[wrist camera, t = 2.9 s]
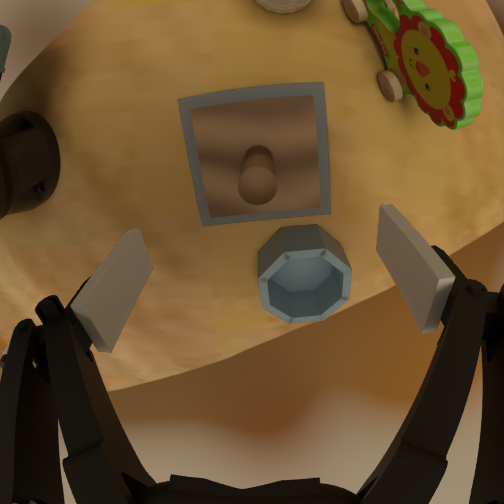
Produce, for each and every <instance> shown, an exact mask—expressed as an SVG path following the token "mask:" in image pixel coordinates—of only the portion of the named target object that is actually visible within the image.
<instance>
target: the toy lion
mask: <svg viewBox="0 0 504 504" xmlns="http://www.w3.org/2000/svg"><path fill="white" fill-rule="evenodd" d="M342 3H343V6H344V9H345V11H346V13H347V15H348V17H349V18H350V19H351V20H352V21H353V22H355V23H360V22H365V21H366V22H367V23H368V25H369V26H370V28H371V29H372V31H373V33H374V34H375V36H376V38H377V40H378V42H379V45H380V47H381V49H382V52H383V55H384V58H385V61H386V65H387V70H385V71H382V72H380V73H378V82H379V85H380V88H381V90H382V92H383V94H384V95H385V97H386V98H387V99H388V100H389V101H391V102H395V101H398V100H401V99H402V97H403V93H408V94H412V95H413V96H414V97H415V99H416V101H417V104H418V106H419V107H420V109H421V110H422V111H423V112H424V113H426V114H428V115H429V116H430V118H431V120H432V121H433V122H434V123H435V124H436V125H438V126H440V127H441V126H446V127H448V128H450V129H453V130H454V129H458V128H461V127H464V126H467V125H470V124H471V123H472V121H473V117H476V116H478V115H479V114H480V111H481V101H480V98H481V96H482V94H483V82H482V78H481V76H480V74H479V71H478V68H479V60H478V56H477V54H476V52H475V50H474V48H473V47H472V46H471V45H470V44H469V43H468V42H467V41H466V40H465V39H464V36H463V34H462V32H461V30H460V29H459V27H458V26H457V25H456V24H455V23H454V22H453V21H451V20H449V19H446V18H445V17H444V16H443V15H442V14H441V13H440V12H439V11H437V10H435V9H429V8H428V7H427V6H426V5H425V4H424V2H423V1H422V0H342ZM394 4H395V5H394ZM395 6H396V8H397V11H398V14H399V18H400V20H399V19H398V18H397V17H396V16H395V15H394V14H395Z"/></svg>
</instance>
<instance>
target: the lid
mask: <svg viewBox="0 0 504 504" xmlns="http://www.w3.org/2000/svg"><path fill="white" fill-rule="evenodd" d="M190 111H191V117H192V123H193V128H194V134H195V140H196V145H197V151H198V156H199V162H200V167H201V172H202V177H203V183H204V188H205V193H206V198H207V203H208V208H209V213H210V218H217V217H226V216H235V215H244V214H254V213H264V212H274V211H285V210H296V209H308V208H320V184H319V164H318V147H317V133H316V121H315V109H314V99H313V96H312V95H311V96H292V97H278V98H267V99H258V100H249V101H241V102H234V103H227V104H220V105H214V106H208V107H202V108H197V109H192V110H190Z"/></svg>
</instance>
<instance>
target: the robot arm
mask: <svg viewBox="0 0 504 504" xmlns="http://www.w3.org/2000/svg"><path fill="white" fill-rule="evenodd" d="M10 43H11V33H10V31H9V29H8V28H7V27H5V26H2V25H0V80H1V76H2V73H4V71H5V68H4V65H5V61H6V57H7V53H8V50H9V46H10ZM59 167H60V160H59V151H58V145H57V142H56V139H55V136H54V134H53V131H52V129H51V128H50V126H49V125H48V123H47V122H46V121H45V120H44V119H43V118H42V117H41V116H40V115H38V114H36V113H34V112H31V111H23V112H19V113H15V114H12V115H10V116H8V117H6V118H5V119H3V120H2V121H1V122H0V219H2V218H3V217H4V216H6V215H9V214H14V213H18V212H23V211H28V210H31V209H34V208H36V207H37V206H39V205H40V204H42V203H43V202H44V201H46V200H47V199H48V198H49V197H50V196H51V194H52V193H53V191H54V189H55V187H56V184H57V181H58V176H59ZM376 251H377V252H378V254H379V256H380V257H381V259H382V261H383V262H384V264H385V266H386V268H387V269H388V271H389V273H390V275H391V276H392V278H393V280H394V282H395V284H396V285H397V287H398V289H399V291H400V293H401V295H402V296H403V298H404V300H405V302H406V304H407V306H408V307H409V310H410V312H411V314H412V316H413V318H414V320H415V322H416V324H417V326H418V328H419V330H420V332H421V334H423V333H427V332H432V331H436V330H437V328H438V325H439V323H440V320H441V321H442V323H443V325H444V329H443V331H442V334H441V336H440V338H439V341H438V343H437V348H436V351H435V354H434V356H433V359H432V361H431V364H430V366H429V369H428V371H427V374H426V376H425V378H424V381H423V383H422V385H421V387H420V389H419V392H418V394H417V396H416V398H415V400H414V402H413V404H412V406H411V408H410V410H409V412H408V414H407V416H406V418H405V420H404V422H403V424H402V426H401V428H400V429H399V431H398V433H397V435H396V436H395V438H394V440H393V442H392V443H391V445H390V447H389V448H388V450H387V452H386V453H385V455H384V457H383V458H382V459H381V461H380V463H379V464H378V466H377V467H376V469H375V470H374V471H373V473H372V474H371V475H370V477H369V478H368V479H367V480H366V482H365V483H364V484H363V486H362V487H361V488H360V490H359V491H358V492H357V494H354V493H352V492H350V491H348V490H346V489H344V488H341V487H338V486H334V485H329V484H322V483H320V478H309V479H298V480H281V481H277V482H273V483H269V484H265V485H261V486H257V487H252V488H247V489H238V488H234V487H231V486H227V485H224V484H220V483H217V482H214V481H211V480H208V479H204V478H195V477H186V476H178V475H172V474H171V476H170V481H166V482H161V483H156V482H155V481H154V479H153V478H152V477H151V476H150V475H149V474H148V473H147V472H146V470H145V469H144V467H143V466H142V464H141V462H140V460H139V458H138V457H137V455H136V453H135V451H134V449H133V447H132V446H131V444H130V442H129V440H128V438H127V436H126V434H125V431H124V429H123V427H122V425H121V423H120V421H119V419H118V417H117V414H116V412H115V410H114V408H113V406H112V403H111V401H110V399H109V396H108V393H107V391H106V388H105V386H104V383H103V381H102V378H101V375H100V373H99V370H98V367H97V364H96V361H95V358H94V356H93V353H92V352H91V350H90V349H89V348H90V346H91V344H92V343H93V344H94V346H95V347H96V349H97V350H98V351H99V352H109V353H112V350H113V348H114V346H115V344H116V342H117V340H118V337H119V335H120V333H121V331H122V329H123V327H124V325H125V323H126V321H127V319H128V317H129V315H130V313H131V311H132V309H133V307H134V305H135V303H136V301H137V299H138V297H139V295H140V293H141V291H142V289H143V287H144V285H145V283H146V281H147V280H148V278H149V276H150V274H151V272H152V270H153V267H152V264H151V261H150V258H149V255H148V252H147V249H146V246H145V243H144V240H143V237H142V234H141V230H140V228H137V229H130V230H128V231H127V232H126V233H125V234H124V236H123V237H122V238H121V239H120V240H119V242H118V243H117V244H116V245H115V247H114V248H113V249H112V250H111V251H110V253H109V254H108V255H107V257H106V258H105V259H104V260H103V262H102V263H101V264H100V266H99V267H98V268H97V269H96V271H95V272H94V273H93V275H92V276H91V277H89V278H88V279H87V280H86V281H85V282H84V283H83V284H82V286H81V287H80V289H79V290H78V291H77V292H76V295H74V297H73V298H72V299H71V301H70V302H69V304H68V305H67V306H66V308H65V309H64V307H63V305H62V303H61V302H60V300H59V298H58V296H56V295H51V296H48V297H46V298H44V299H43V300H41V301H40V302H39V303H38V305H37V306H36V308H35V312H36V314H37V315H38V317H39V318H40V320H41V322H42V323H43V325H39V326H36V325H35V324H34V322H33V321H32V319H25V320H22V321H20V322H19V323H18V324H17V326H16V327H15V329H14V331H13V334H12V337H11V341H10V344H9V348H8V351H7V355H6V359H5V363H4V367H3V371H2V376H1V381H0V504H65V502H64V493H63V485H62V477H61V468H60V457H59V443H58V442H59V440H58V419H59V423H60V427H61V431H62V434H63V438H64V442H65V445H66V448H67V451H68V457H67V458H64V459H63V462H62V463H63V468H64V472H65V474H66V477H67V480H68V483H69V485H70V488H71V491H72V494H73V496H74V499H75V501H76V503H77V504H429V502H430V500H431V498H432V496H433V495H434V493H435V491H436V489H437V487H438V485H439V483H440V481H441V479H442V477H443V475H444V473H445V471H446V468H447V464H448V461H447V460H446V455H447V452H448V450H449V448H450V445H451V443H452V440H453V438H454V436H455V433H456V430H457V428H458V425H459V422H460V420H461V417H462V414H463V411H464V408H465V405H466V402H467V398H468V395H469V392H470V388H471V385H472V381H473V377H474V373H475V369H476V365H477V361H478V356H479V351H480V346H481V351H482V369H483V370H482V372H483V399H482V421H481V433H480V442H479V450H478V457H477V464H476V469H475V475H474V480H473V485H472V489H471V495H470V500H469V504H504V284H503V286H502V287H501V290H500V292H499V293H497V292H488V291H487V289H486V287H485V286H484V285H483V284H482V283H480V282H478V281H476V280H472V279H467V278H466V277H465V276H464V274H463V273H462V272H461V271H460V269H459V268H458V267H457V266H456V265H455V264H454V263H453V261H452V260H451V259H450V258H449V256H448V255H447V254H446V253H445V252H444V251H443V250H442V249H440V248H439V247H437V246H436V245H434V246H430V245H429V244H428V243H427V241H426V240H425V239H424V238H423V237H422V236H421V235H420V233H419V232H418V231H417V230H416V229H415V228H414V227H413V226H412V225H411V223H410V222H409V221H408V220H407V219H406V218H405V217H404V216H403V215H402V214H401V213H400V212H399V211H398V210H397V209H396V208H395V207H394V205H393V204H389V205H380V208H379V222H378V234H377V245H376ZM33 362H34V363H35V365H36V367H34V364H33Z"/></svg>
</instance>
